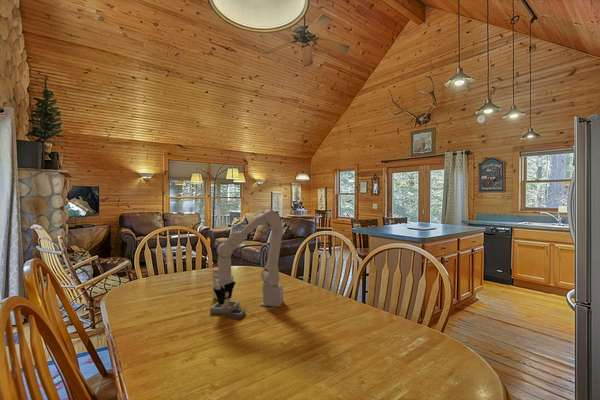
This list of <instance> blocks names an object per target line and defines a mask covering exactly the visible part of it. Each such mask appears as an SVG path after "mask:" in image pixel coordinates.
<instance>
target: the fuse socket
mask: <svg viewBox="0 0 600 400" xmlns="http://www.w3.org/2000/svg"><path fill="white" fill-rule="evenodd" d="M245 315H246V309H245V308H244V309H243V308H238V309H232V310H231V311H230V312H229V313H228V315H227V319H233V320H242V318H243V317H244V316H245Z"/></svg>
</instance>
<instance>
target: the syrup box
mask: <svg viewBox="0 0 600 400" xmlns="http://www.w3.org/2000/svg"><path fill="white" fill-rule="evenodd" d="M217 279H218V267H217V268H214V269H212V298H213V299H216V300H218V299H217V296H216V294H215V292H214V290H213V288H215V285H216V284H217V282H216V280H217ZM223 288H224V286H223Z"/></svg>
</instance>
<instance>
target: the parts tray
mask: <svg viewBox="0 0 600 400" xmlns="http://www.w3.org/2000/svg"><path fill="white" fill-rule="evenodd" d="M221 306H222V304H219V303H218V301H217V302H216V303H214V304H213V305H212V306H211V307H209V314H210V315H211V314H212V315H225V316H228V313H229V312H230V311H231V310H232V309H240V301H237V300H236V301H235V300H234V301H233V300H229V308H221Z"/></svg>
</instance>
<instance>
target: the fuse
mask: <svg viewBox="0 0 600 400" xmlns="http://www.w3.org/2000/svg"><path fill="white" fill-rule="evenodd" d="M229 299H230V298H229V292H226V293H225V300H224V304H222V306H221V308H229V301H230V300H229Z"/></svg>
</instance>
